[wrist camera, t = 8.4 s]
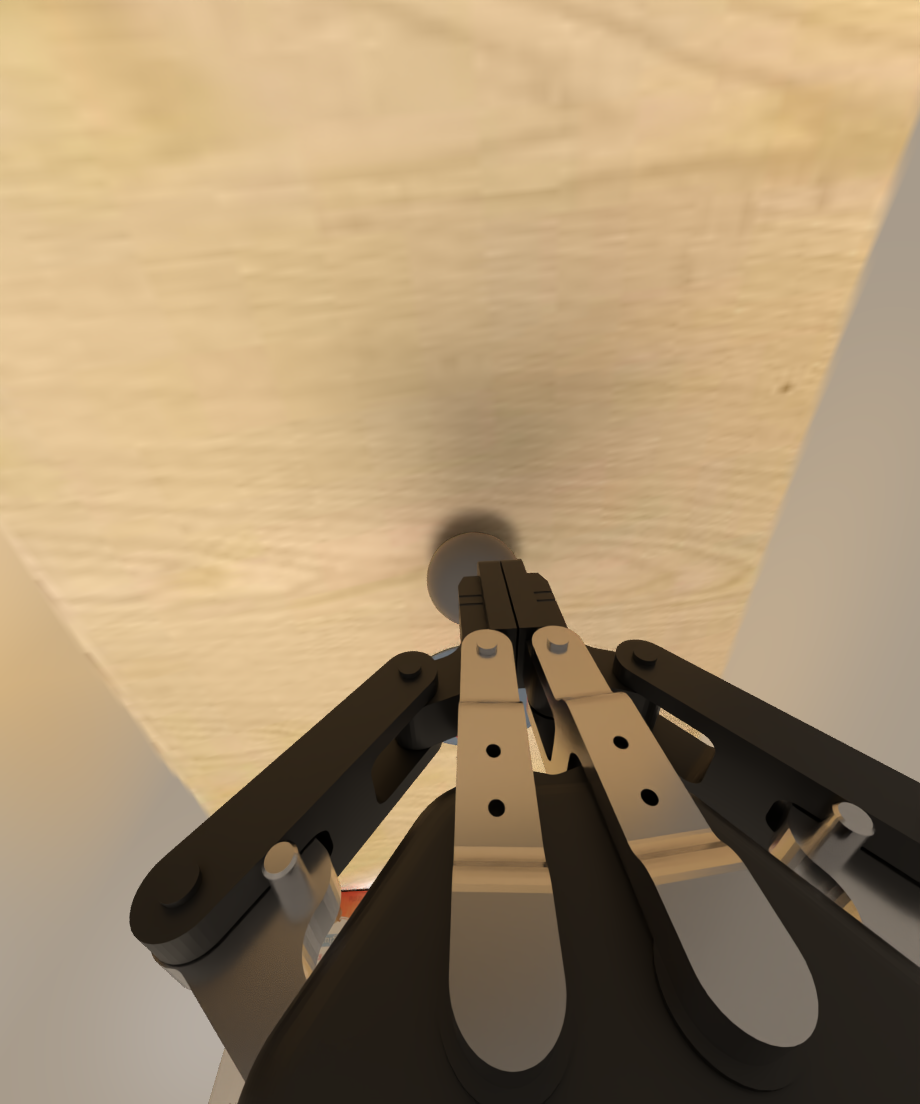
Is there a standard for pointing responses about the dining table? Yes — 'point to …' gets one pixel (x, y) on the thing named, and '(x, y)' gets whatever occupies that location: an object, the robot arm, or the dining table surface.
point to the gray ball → (460, 567)
